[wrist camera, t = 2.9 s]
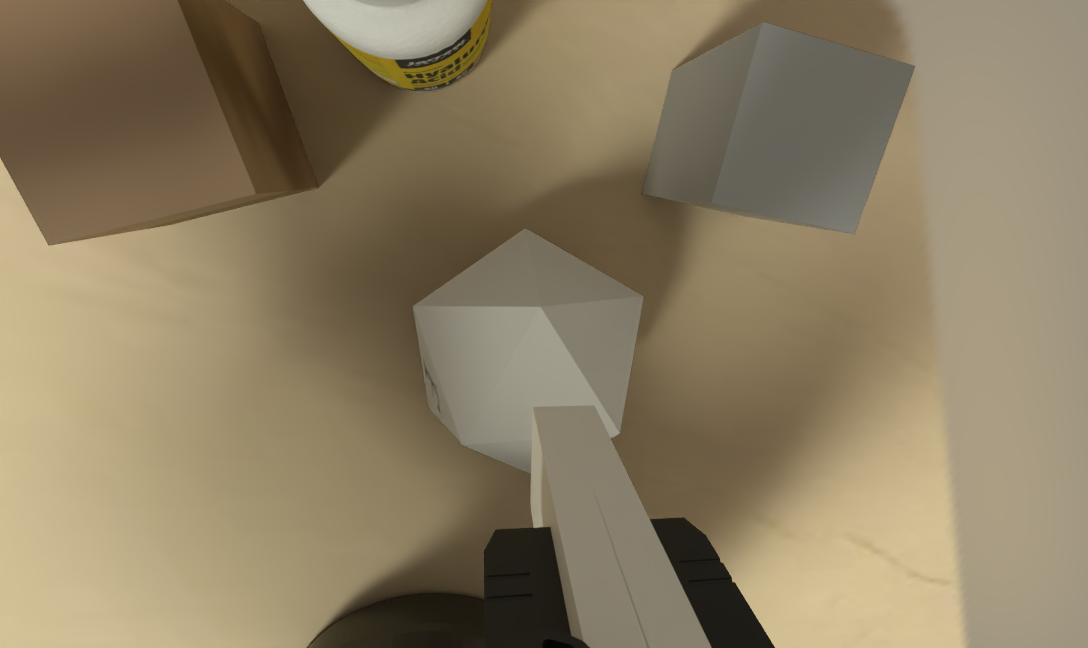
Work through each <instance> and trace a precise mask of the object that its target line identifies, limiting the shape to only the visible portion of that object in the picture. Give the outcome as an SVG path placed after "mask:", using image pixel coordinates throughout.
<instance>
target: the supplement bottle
mask: <svg viewBox="0 0 1088 648" xmlns="http://www.w3.org/2000/svg"><path fill="white" fill-rule="evenodd" d="M303 1H304V2H305V4H306V5H307V6H308V8H309V9H310V10H311V12H312V13H313V14H314V15H315V16H316V17H317V18H318V19H319V20H320V21H321V22H322V24H323V25H324V26H325V27H326V28H327V29H328V30H329V31H330V32H331V33H332V34H333V35H334V36H335V37H336V38H337V39H338V40H339V41H340V42H341V43H342V44H343V45H344V46H345V47H346V48H347V49H348V50H349V51H350V52H351V53H352V54H353V55H354V56H355V57H356V58H357V59H358V60H360V61H361V62H362V63H363V64H364V65H365V66H366V67H367V68H368V69H369V70H370V71H372V72H373V73H374V74H375V75H377V76H378V77H379V78H381V79H382V80H384V81H386V82H387V83H389V84H391V85H393V86H395V87H398V88H401V89H404V90H407V91H412V92H433V91H438V90H442V89H445V88H447V87H449V86H451V85H453V84H455V83H457V82H458V81H460V80H461V79H462V78H464V77H465V76H466V75H467V74H468V73H469V72H470V71H471V70H472V69H473V67H474V66H475V65H476V63H477V62H478V60H479V58H480V56H481V54H482V52H483V50H484V47H485V44H486V41H487V37H488V33H489V27H490V19H491V10H492V0H303Z"/></svg>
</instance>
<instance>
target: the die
mask: <svg viewBox="0 0 1088 648" xmlns="http://www.w3.org/2000/svg"><path fill="white" fill-rule="evenodd" d="M643 299H644V296H643V295H641V294H639V293H637V292H636V291H634V290H632V289H630V288H629V287H627V286H625V285H623V284H622V283H620V282H618V281H616V280H615V279H613V278H611V277H610V276H608V275H606V274H604V273H603V272H601V271H599V270H597V269H596V268H594V267H592V266H590V265H589V264H587V263H585V262H583V261H582V260H580V259H578V258H577V257H575V256H573V255H571V254H570V253H568V252H566V251H564V250H563V249H561V248H559V247H557V246H556V245H554V244H552V243H550V242H549V241H547V240H545V239H544V238H542V237H540V236H538V235H537V234H535V233H533V232H531V231H530V230H528V229H526V228H525V229H523V230H522V231H520V232H519V233H517V234H516V235H514V236H513V237H512V238H510V239H509V240H507V241H506V242H504V243H503V244H501V245H500V246H499V247H497V248H496V249H494V250H493V251H491V252H490V253H489V254H487V255H486V256H484V257H483V258H481V259H480V260H478V261H477V262H476V263H474V264H473V265H471V266H470V267H468V268H467V269H466V270H464V271H463V272H461V273H460V274H458V275H457V276H455V277H454V278H453V279H451V280H450V281H448V282H447V283H445V284H444V285H443V286H441V287H440V288H438V289H437V290H435V291H434V292H432V293H431V294H430V295H428V296H427V297H425V298H424V299H422V300H421V301H420V302H418V303H417V304H415V305H414V306H413V311H414V317H415V324H416V330H417V337H418V343H419V349H420V356H421V362H422V368H423V375H424V381H425V388H426V394H427V400H428V407H429V409H430V410H431V411H432V412H433V413H434V414H435V415H436V417H437V418H438V419H439V420H440V421H441V422H442V423H443V424H444V425H445V426H446V428H447V429H448V430H449V431H450V432H451V433H452V434H453V435H454V436H455V437H456V438H457V440H458V441H459V442H460V443H461V444H462V445H463V446H466V447H468V448H470V449H473V450H475V451H477V452H480V453H482V454H484V455H487V456H489V457H491V458H494V459H496V460H498V461H501V462H503V463H506V464H508V465H510V466H513V467H515V468H517V469H520V470H522V471H524V472H527V473H529V474H531V455H532V414H533V407H549V406H587V405H595V407H596V409H597V412H598V414H599V416H600V418H601V420H602V422H603V424H604V426H605V428H606V430H607V432H608V434H609V436H610V438H612V437H614V436H616V435H618V434H620V430H621V425H622V419H623V413H624V407H625V402H626V396H627V390H628V384H629V379H630V373H631V367H632V362H633V356H634V350H635V344H636V339H637V333H638V327H639V321H640V316H641V310H642V304H643Z"/></svg>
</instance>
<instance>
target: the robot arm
mask: <svg viewBox="0 0 1088 648" xmlns="http://www.w3.org/2000/svg"><path fill="white" fill-rule="evenodd" d="M530 507H531V513H532V520H533V527H534V528H519V529H501V530H495V532H494V534H493V536H492V537H491V539H490V541H489V543H488V545H487V547H486V549H485V550H484V601H483V600H480V599H476V598H471V597H466V596H459V595H450V594H420V595H411V596H405V597H399V598H394V599H390V600H386V601H383V602H379V603H376V604H373V605H371V606H368V607H365V608H363V609H361V610H358V611H356V612H354V613H352V614H350V615H348V616H347V617H345V618H343V619H341V620H340V621H338V622H337V623H335V624H334V625H332V626H331V627H330V628H328V629H327V630H326V631H324V632H323V633H322V634H321V635H320V636H319V637H318V638H317V639H315V641H314V642H313V643H312V644H311V645H310V646H309V647H308V648H775V647H774V645H773V644H772V642H771V640H770V639H769V637H768V636H767V634H766V632H765V631H764V629H763V627H762V626H761V624H760V623H759V621H758V619H757V618H756V616H755V614H754V613H753V611H752V610H751V608H750V606H749V605H748V603H747V602H746V600H745V598H744V597H743V595H742V593H741V592H740V590H739V589H738V587H737V585H736V584H735V582H734V583H733V582H732V577H731V576H730V574H729V572H728V571H727V569H726V567H725V566H724V564H723V563H721V562H720V558H719V556H718V554H717V553H716V551H715V550H714V548H713V546H712V545H711V543H710V541H709V540H708V538H707V537H706V535H704V534H703V533H702V532H701V531H700V530H698V529H697V528H696V527H695V526H693V525H692V524H691V523H690V522H689V521H687V520H686V519H685V518H667V519H649V517H648V515H647V513H646V511H645V509H644V507H643V505H642V503H641V501H640V499H639V496H638V494H637V492H636V490H635V488H634V486H633V484H632V482H631V480H630V478H629V476H628V474H627V472H626V470H625V467H624V465H623V463H622V461H621V459H620V457H619V455H618V453H617V451H616V449H615V447H614V445H613V443H612V441H611V438H610V436H609V434H608V432H607V430H606V428H605V426H604V424H603V422H602V420H601V418H600V416H599V414H598V412H597V409H596V407H595V405H587V406H549V407H533V414H532V455H531V496H530Z"/></svg>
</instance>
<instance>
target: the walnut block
mask: <svg viewBox="0 0 1088 648" xmlns="http://www.w3.org/2000/svg"><path fill="white" fill-rule="evenodd" d="M0 158H1V160H2V162H3V163H4V165H5V167H6V169H7V171H8V172H9V174H10V176H11V178H12V180H13V182H14V183H15V185H16V187H17V189H18V191H19V192H20V194H21V196H22V198H23V200H24V202H25V203H26V205H27V207H28V209H29V211H30V212H31V214H32V216H33V218H34V220H35V222H36V223H37V225H38V227H39V229H40V231H41V233H42V234H43V236H44V238H45V240H46V242H47V243H48V245H55V244H61V243H66V242H72V241H78V240H84V239H90V238H96V237H102V236H108V235H113V234H119V233H125V232H131V231H137V230H143V229H149V228H155V227H160V226H166V225H171V224H175V223H179V222H183V221H187V220H191V219H195V218H199V217H203V216H207V215H211V214H215V213H219V212H223V211H227V210H232V209H236V208H240V207H244V206H248V205H252V204H256V203H260V202H264V201H268V200H272V199H276V198H280V197H284V196H288V195H292V194H296V193H300V192H304V191H308V190H312V189H316V188H318V185H317V182H316V179H315V177H314V174H313V171H312V168H311V166H310V163H309V160H308V158H307V155H306V152H305V149H304V147H303V144H302V141H301V138H300V136H299V133H298V130H297V128H296V125H295V122H294V119H293V117H292V114H291V111H290V109H289V106H288V103H287V100H286V98H285V95H284V92H283V89H282V87H281V84H280V81H279V79H278V76H277V73H276V70H275V68H274V65H273V62H272V59H271V57H270V54H269V51H268V49H267V46H266V43H265V40H264V38H263V35H262V32H261V29H260V27H259V24H258V23H257V22H256V21H254V20H253V19H251V18H250V17H248V16H247V15H245V14H244V13H242V12H241V11H239V10H238V9H236V8H235V7H233V6H232V5H230V4H229V3H227V2H226V1H224V0H0Z"/></svg>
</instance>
